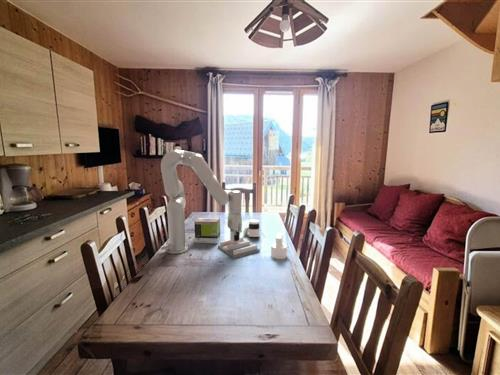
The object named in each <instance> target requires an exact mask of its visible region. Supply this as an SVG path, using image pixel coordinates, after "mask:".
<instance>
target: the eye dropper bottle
mask: <svg viewBox="0 0 500 375" xmlns="http://www.w3.org/2000/svg"><path fill="white" fill-rule="evenodd" d="M234 235H235V231H234V230H233V231H231V232H230V239H229V240H230V243H231V244H232V245H233V244H237V243H240V237H241V236H240V235H241V233H240V234H239V241H234Z"/></svg>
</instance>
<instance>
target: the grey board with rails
mask: <svg viewBox="0 0 500 375" xmlns="http://www.w3.org/2000/svg"><path fill="white" fill-rule="evenodd" d="M219 242H220V244H219V245H217V248H218V249H219V250H221V251H222V252H223V253H225V254H226V255H228V256H229V257H230V258H232V259H233V260H236V259H239V258H243V257H245V256H249V255H252V254H256V253H259V252H260V250H261V249H260V248H258V244H251V241H250V240H244V237H243V236H240V243H237V244H233V245H232V244H231V243H230V239H227V240H223V241H219Z"/></svg>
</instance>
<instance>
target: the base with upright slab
mask: <svg viewBox="0 0 500 375" xmlns="http://www.w3.org/2000/svg"><path fill="white" fill-rule="evenodd" d="M270 249H271V250H270V251H271V252H270V254H271V256H270V257H272V258H273V259H276V260H284V259H286V258H287V256H288V245H287V244H286V243H283V233H282V232H277V234H276V237H275V242H274V243H272V244H271V248H270Z"/></svg>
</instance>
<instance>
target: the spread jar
mask: <svg viewBox="0 0 500 375" xmlns="http://www.w3.org/2000/svg"><path fill="white" fill-rule="evenodd" d="M248 221H249V222H248V225H247V226H246V227H245V228H244V229H243V231H242V232H243V233H242V234H243V235H244V236H247V235H248V238H249V239H252V238H257V239H259V238H260V230H261V229H260V227H261V226H260V220H258V219H250V220H248Z"/></svg>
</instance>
